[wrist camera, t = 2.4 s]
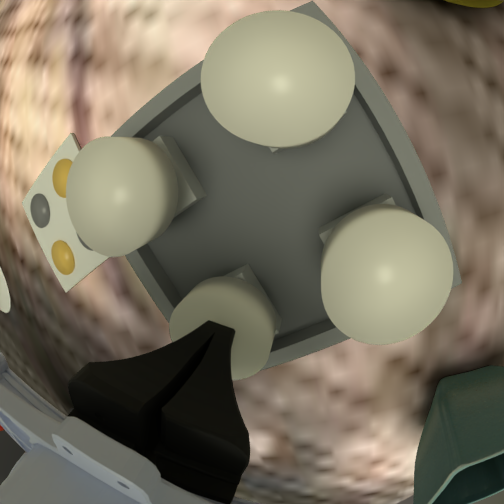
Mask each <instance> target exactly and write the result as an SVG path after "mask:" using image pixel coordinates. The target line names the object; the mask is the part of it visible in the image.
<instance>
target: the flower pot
mask: <svg viewBox="0 0 504 504" xmlns="http://www.w3.org/2000/svg"><path fill="white" fill-rule="evenodd" d="M503 490H504V367H501V366H493V365H490V366H487V367H483V368H480V369H477V370H473V371H470V372H466V373H462V374H457V375H453V376H449V377H445V378H443V379H441V380H440V381H439V383H438V386H437V389H436V393H435V396H434V399H433V402H432V405H431V408H430V411H429V414H428V417H427V419H426V423H425V426H424V429H423V432H422V435H421V439H420V442H419V446H418V450H417V455H416V461H415V471H414V502H413V504H472V503H475V502H477V501H480V500H483V499H485V498H487V497H490V496H492V495H494V494H496V493H498V492H501V491H503Z"/></svg>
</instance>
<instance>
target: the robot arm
mask: <svg viewBox="0 0 504 504" xmlns="http://www.w3.org/2000/svg"><path fill="white" fill-rule="evenodd" d="M235 332H236V331H235V330H234V329H233V328H230V327H227V326H224V325H221V324H218V323H216V322H213V321H210V320H208V321H206V322H205V323H203V324H202V325H201V326H199V327H198V328H196V329H195V330H193V331H192V332H190V333H188V334H187V335H185V336H183V337H182V338H180V339H178V340H176V341H174V342H172V343H170V344H168V345H166V346H164V347H162V348H160V349H157V350H155V351H152V352H149V353H146V354H143V355H140V356H136V357H132V358H127V359H122V360H116V361H107V362H89V363H88V364H87V365H86V366H84V367H83V368H82V369H81V370H80V371H79V372H78V373H77V374H76V375H75V376H74V377H73V378H72V379H71V380H70V381H69V382H68V389H69V393H70V397H71V400H72V403H73V406H74V409H73V410H72V412H71V413H70V414H69V415H68V416H65V415H64V414H63V413H61V412H60V411H59V410H57V409H56V408H55V407H53V406H52V405H51V404H49V403H48V402H47V401H46V400H44V399H43V398H42V397H41V396H40V395H38V394H37V393H36V392H35V391H34V390H32V389H31V388H30V387H29V386H28V385H27V384H26V383H24V382H23V381H22V380H21V379H20V378H19V377H18V376H17V375H16V374H15V373H14V372H12V371H11V370H10V369H9V368H8V364H7V361H6V359H5V357H4V356H3V354H2V353H1V352H0V425H1V426H2V427H3V428H4V429H5V430H6V432H7V433H8V434H9V435H10V436H11V437H12V438H13V439H14V440H15V441H16V442H17V443H18V444H19V445H20V446H21V447H22V448H23V449H24V450H25V451H26V452H25V453H24V454H23V456H22V457H21V458H20V459H19V460H18V462H17V463H16V464H15V466H14V467H13V469H12V471H11V472H10V474H9V476H8V477H7V478H6V479H5V481H4V482H3V483H2V484H1V485H0V504H262V503H257V502H253V501H249V500H245V499H241V498H237V497H234V495H235V492H236V489H237V485H238V484H239V482H240V479H241V475H242V474H243V472H244V470H245V469H246V467H247V466H248V463H249V459H250V442H249V433H248V430H247V428H246V426H245V424H244V422H243V419H242V417H241V414H240V411H239V408H238V404H237V401H236V397H235V393H234V388H233V382H232V374H231V347H232V343H233V339H234V336H235Z"/></svg>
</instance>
